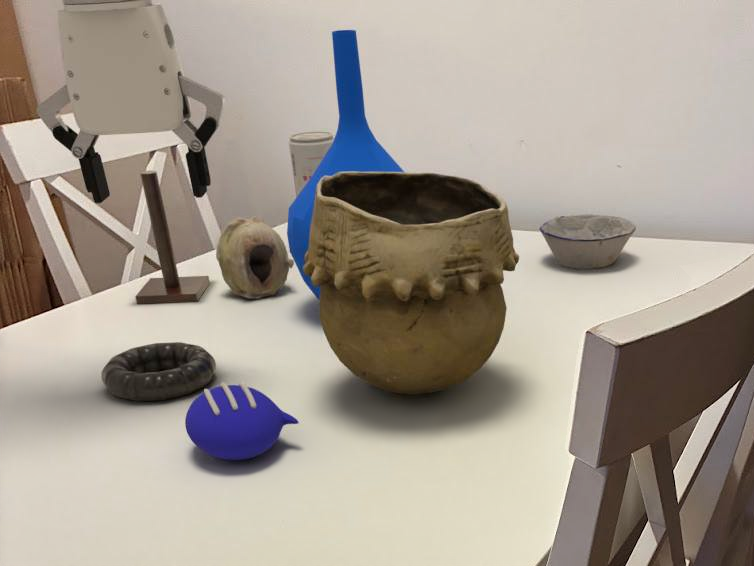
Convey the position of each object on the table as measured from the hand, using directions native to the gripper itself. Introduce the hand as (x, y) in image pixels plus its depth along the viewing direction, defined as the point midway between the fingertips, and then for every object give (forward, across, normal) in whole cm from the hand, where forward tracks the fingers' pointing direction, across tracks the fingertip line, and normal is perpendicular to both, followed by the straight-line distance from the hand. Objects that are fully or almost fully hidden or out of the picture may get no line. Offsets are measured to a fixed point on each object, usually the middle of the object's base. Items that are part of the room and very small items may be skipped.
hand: (151, 197), depth 96 cm
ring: (+17, +3, +1) cm, 17 cm away
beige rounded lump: (+19, -3, -30) cm, 35 cm away
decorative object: (+19, -9, +18) cm, 28 cm away
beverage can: (+19, -9, -52) cm, 56 cm away
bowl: (+19, -47, -38) cm, 63 cm away
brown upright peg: (+18, +9, -31) cm, 37 cm away
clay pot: (+19, -25, +5) cm, 32 cm away
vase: (+19, -18, -22) cm, 34 cm away
